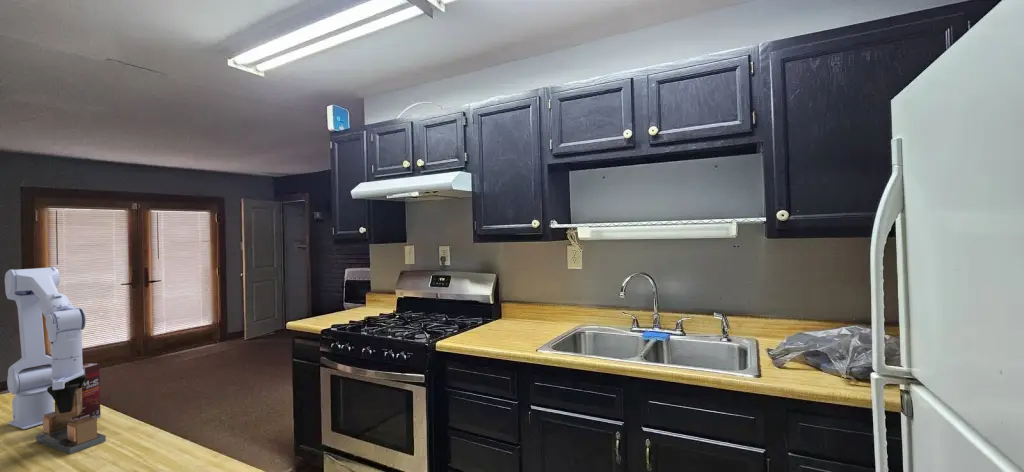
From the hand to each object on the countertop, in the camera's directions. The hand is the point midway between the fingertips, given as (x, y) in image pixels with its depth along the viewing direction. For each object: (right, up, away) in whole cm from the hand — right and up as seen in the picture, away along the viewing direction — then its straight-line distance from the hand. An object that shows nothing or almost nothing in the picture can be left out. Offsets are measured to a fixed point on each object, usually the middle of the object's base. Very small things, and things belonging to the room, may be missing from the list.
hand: (68, 408), depth 118 cm
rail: (0, -9, 0) cm, 9 cm away
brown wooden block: (0, -2, 0) cm, 2 cm away
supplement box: (-9, -9, +12) cm, 17 cm away
